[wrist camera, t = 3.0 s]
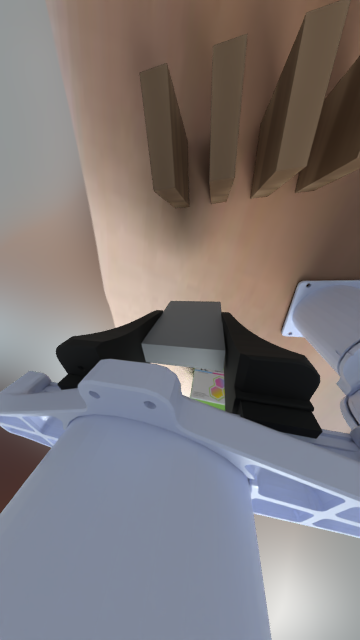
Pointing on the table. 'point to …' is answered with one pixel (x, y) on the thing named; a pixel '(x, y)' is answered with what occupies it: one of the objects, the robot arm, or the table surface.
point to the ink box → (209, 387)
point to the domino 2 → (187, 336)
